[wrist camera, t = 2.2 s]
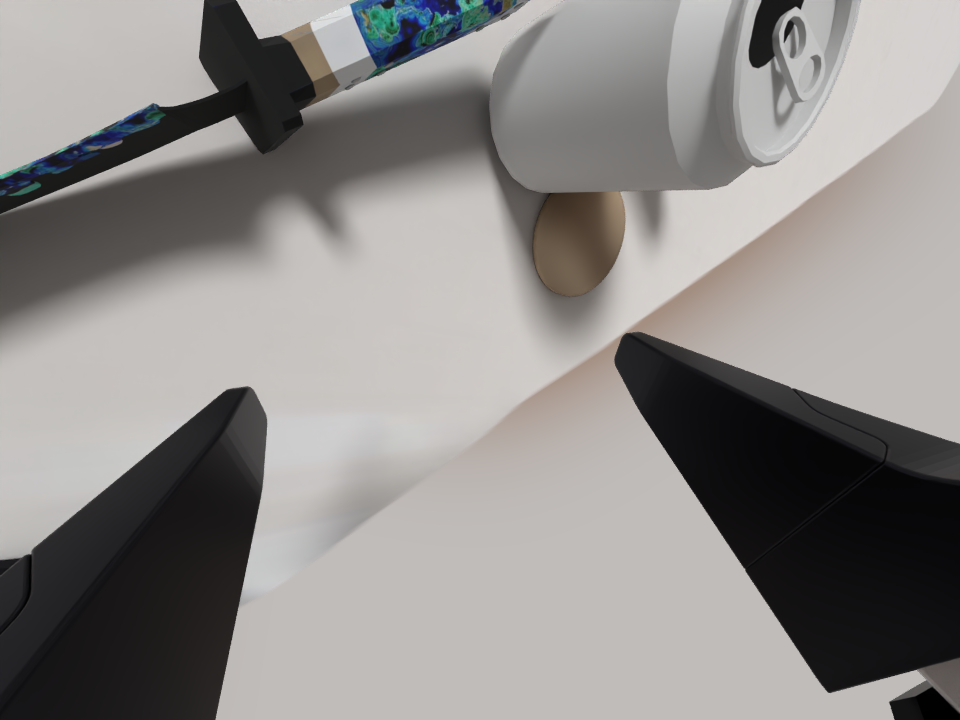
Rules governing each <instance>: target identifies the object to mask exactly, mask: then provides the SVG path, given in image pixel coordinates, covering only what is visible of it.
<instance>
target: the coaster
mask: <svg viewBox="0 0 960 720" xmlns="http://www.w3.org/2000/svg"><path fill="white" fill-rule="evenodd" d="M624 232H625V208H624V203H623V199H622V196H621V194H620V192H619V191H614V192H564V193H551V194H550V195H549V197H548V198H547V200H546V201H545V203H544V205H543V207H542V209H541V211H540V214H539V217H538V219H537V223H536V227H535V232H534V238H533V256H534V262H535V266H536V270H537V272H538V274H539V277H540V278H541V280H542V282H543V283H544V284H545V285H546V286H547V287H548V288H549V289H550V290H552V291H554V292H556V293H558V294H561V295H564V296H579V295H582V294H585V293H587V292H589V291H591V290H592V289H593V288H595V287H596V286H597V285H598V284H600V283H601V281H602V280H603V279H604V278H605V277H606V276H607V274H608V273H609V272H610V270H611V268H612V267H613V265H614V263H615V261H616V259H617V257H618V254H619V252H620V249H621V246H622V242H623V238H624Z"/></svg>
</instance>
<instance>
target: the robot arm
mask: <svg viewBox="0 0 960 720" xmlns="http://www.w3.org/2000/svg"><path fill="white" fill-rule="evenodd" d="M614 360H615V366H616V368H617V370H618V372H619V374H620V375H621V377H622V379H623V381H624V383H625V385H626V387H627V389H628V391H629V392H630V394H631V396H632V398H633V400H634V402H635V404H636V406H637V407H638V409H639V411H640V413H641V414H642V416H643V417H644V419H645V420H646V422H647V423H648V425H649V426H650V428H651V429H652V431H653V432H654V434H655V435H656V437H657V438H658V440H659V441H660V443H661V444H662V446H663V447H664V448H665V450H666V452H667V453H668V455H669V456H670V458H671V459H672V461H673V462H674V464H675V465H676V467H677V468H678V470H679V471H680V473H681V474H682V476H683V477H684V479H685V480H686V482H687V483H688V485H689V486H690V488H691V489H692V491H693V492H694V494H695V495H696V497H697V498H698V500H699V501H700V503H701V504H702V506H703V507H704V509H705V510H706V512H707V513H708V515H709V516H710V518H711V519H712V521H713V522H714V524H715V525H716V527H717V528H718V530H719V532H720V533H721V535H722V536H723V538H724V539H725V541H726V542H727V544H728V545H729V546H730V548H731V550H732V551H733V553H734V554H735V556H736V557H737V559H738V560H739V561H740V563H741V564H742V566H743V567H744V568H745V571H746V573H747V574H748V576H749V577H750V579H751V580H752V582H753V583H754V585H755V586H756V588H757V589H758V591H759V592H760V594H761V595H762V597H763V598H764V600H765V601H766V602H767V604H768V606H769V607H770V609H771V610H772V612H773V613H774V615H775V616H776V618H777V619H778V621H779V622H780V624H781V625H782V627H783V628H784V630H785V631H786V633H787V634H788V636H789V637H790V639H791V640H792V642H793V643H794V645H795V646H796V648H797V649H798V651H799V652H800V654H801V655H802V657H803V658H804V660H805V661H806V663H807V664H808V666H809V667H810V669H811V670H812V672H813V673H814V675H815V676H816V678H817V679H818V681H819V682H820V683H821V685H822V686H823V687H824V688H825V690H826V691H827V692H828V693H832V692H836V691H840V690H843V689H847V688H851V687H854V686H858V685H861V684H866V683H869V682H873V681H876V680H880V679H884V678H888V677H891V676H895V675H899V674H903V673H906V672H910V671H914V670H917V671H918V672H919V673H920V674H921V675H922V676H923V677H924V678H925V679H926V681H924V682H923V683H921V684H919V685H917V686H916V687H914V688H912V689H910V690H909V691H907V692H905V693H904V694H902V695H900V696H899V697H897V698H895V699H893V700H892V701H890V702H889V703H890V706H891V709H892V713H893V716H894V719H895V720H960V444H959V443H955V442H952V441H948V440H945V439H942V438H939V437H936V436H933V435H930V434H927V433H924V432H921V431H918V430H914V429H911V428H908V427H905V426H902V425H899V424H896V423H893V422H890V421H887V420H884V419H881V418H878V417H875V416H872V415H869V414H866V413H863V412H859V411H856V410H854V409H851V408H848V407H845V406H842V405H839V404H836V403H833V402H831V401H828V400H825V399H822V398H819V397H816V396H813V395H810V394H808V393H805V392H803V391H800V390H797V389H791V388H790V387H789V386H786V385H783V384H781V383H778V382H775V381H773V380H770V379H767V378H764V377H762V376H759V375H756V374H754V373H751V372H748V371H745V370H743V369H740V368H737V367H734V366H732V365H729V364H726V363H724V362H721V361H718V360H715V359H713V358H710V357H707V356H704V355H702V354H699V353H696V352H694V351H691V350H688V349H685V348H683V347H680V346H677V345H675V344H672V343H669V342H666V341H663V340H661V339H658V338H655V337H653V336H650V335H647V334H645V333H642V332H632V333H626V334H624V335H623V337H622V338H621V341H620V344H619V347H618V349H617V352H616V355H615V359H614ZM266 435H267V417H266V414H265V411H264V409H263V407H262V405H261V403H260V401H259V399H258V397H257V395H256V393H255V392H254V390H253V389H252V388H251V387H248V386H246V387H239V388H232V389H228V390H226V391H224V392H223V393H222V394H221V395H219V396H218V397H217V398H216V399H214V400H213V401H212V402H211V403H210V404H208V405H207V406H206V407H205V408H204V409H202V410H201V411H200V412H199V413H197V414H196V415H195V416H194V417H193V418H191V419H190V420H189V421H188V422H187V423H185V424H184V425H183V426H182V427H180V428H179V429H178V430H177V431H176V432H174V433H173V434H172V435H171V436H170V437H168V438H167V439H166V440H165V441H163V442H162V443H161V444H160V445H159V446H157V447H156V448H155V449H154V450H153V451H151V452H150V453H149V454H148V455H146V456H145V457H144V458H143V459H142V460H140V461H139V462H138V463H137V464H136V465H134V466H133V467H132V468H131V469H129V470H128V471H127V472H126V473H125V474H123V475H122V476H121V477H120V478H119V479H117V480H116V481H115V482H114V483H112V484H111V485H110V486H109V487H108V488H106V489H105V490H104V491H103V492H102V493H100V494H99V495H98V496H97V497H95V498H94V499H93V500H92V501H91V502H89V503H88V504H87V505H86V506H85V507H83V508H82V509H81V510H80V511H78V512H77V513H76V514H75V515H74V516H72V517H71V518H70V519H69V520H67V521H66V522H65V523H64V524H63V525H61V526H60V527H59V528H58V529H57V530H55V531H54V532H53V533H52V534H50V535H49V536H48V537H47V538H46V539H44V540H43V541H42V542H41V543H40V544H38V545H37V546H36V547H35V548H34V549H33V550H32V552H31V554H28V555H25V556H24V557H22V558H21V559H16V560H6V561H0V720H215V719H216V714H217V709H218V704H219V699H220V694H221V689H222V685H223V680H224V675H225V670H226V665H227V660H228V655H229V650H230V645H231V640H232V635H233V630H234V626H235V621H236V616H237V611H238V607H239V602H240V597H241V592H242V587H243V582H244V577H245V572H246V568H247V563H248V558H249V553H250V548H251V543H252V538H253V534H254V529H255V524H256V519H257V514H258V509H259V504H260V499H261V493H262V487H263V477H264V463H265V449H266Z"/></svg>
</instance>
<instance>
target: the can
mask: <svg viewBox="0 0 960 720" xmlns="http://www.w3.org/2000/svg"><path fill="white" fill-rule="evenodd" d="M860 3H861V0H563V1H562V2H560V3H559V4H557V5H556V6H554V7H553V8H551V9H550V10H548V11H547V12H545V13H544V14H542V15H540V16H539V17H537V18H536V19H534V20H533V21H531V22H530V23H528V24H527V25H525V26H524V27H522V28H521V29H519V30H518V32H517V33H516V34H515V35H514V36H513V38H512V39H511V40H510V41H509V42H508V44H507V45H506V46H505V47H504V49H503V51H502V54H501V56H500V59H499V61H498V64H497V66H496V69H495V71H494V74H493V79H492V87H491V94H490V101H489V109H490V121H491V133H492V136H493V139H494V142H495V145H496V149H497V152H498V155H499V158H500V159H501V161H502V163H503V164H504V166H505V167H506V169H507V170H508V172H509V174H510V175H511V177H512V178H514V179H515V180H516V181H517V182H519V183H520V184H521V185H522V186H524V187H525V188H526V189H530V190H533V191H537V192H540V193H564V192H614V191H665V190H709V189H713V188H718V187H722V186H726V185H728V184H729V183H731V182H732V181H733V180H735V179H736V178H737V177H739V176H740V175H741V174H742V173H744V172H745V171H746V170H748V169H749V168H750V167H751V166H752V165H753V166H755V167H763V166H768V165H773V164H776V163H777V162H779V161H780V160H781V159H782V158H784V157H785V156H786V155H788V154H789V153H790V152H791V151H793V150H794V149H795V148H796V147H797V146H798V144H799V143H800V142H801V140H802V139H803V138H804V137H805V135H806V134H807V133H808V132H809V130H810V129H811V128H812V126H813V125H814V123H815V121H816V119H817V118H818V116H819V114H820V112H821V111H822V109H823V107H824V105H825V104H826V102H827V100H828V98H829V96H830V94H831V91H832V89H833V87H834V84H835V82H836V80H837V77H838V75H839V73H840V70H841V68H842V66H843V63H844V60H845V57H846V54H847V51H848V48H849V44H850V41H851V38H852V35H853V32H854V29H855V25H856V22H857V17H858V12H859V8H860Z"/></svg>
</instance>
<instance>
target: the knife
mask: <svg viewBox="0 0 960 720" xmlns="http://www.w3.org/2000/svg"><path fill="white" fill-rule="evenodd" d="M528 1H530V0H359V1H357V2H354V3H352V4H350V5H347V6H345V7H343V8H341V9H338V10H336V11H334V12H332V13H330V14H327V15H325V16H323V17H321V18H318V19H316V20H314V21H312V22H309V23H307V24H305V25H302V26H300V27H298V28H296V29H293V30H291V31H289V32H287V33H284V34H282V35H279V36H274V37H269V38H264V39H258V38H257V36H256V34H255V32H254V31H253V29H252V27H251V25H250V24H249V22H248V20H247V18H246V17H245V15H244V13H243V11H242V9H241V8H240V6H239V4H238V2H237V1H236V0H204V9H203V19H202V30H201V41H200V52H199V59H200V61H201V63H202V65H203V67H204V69H205V71H206V72H207V74H208V75H209V77H210V78H211V80H212V81H213V83H214V84H215V86H216V87H217V89H218V90H219V92H218V93H215V94H213V95H210V96H208V97H205V98H203V99H200V100H196V101H193V102H190V103H186V104H182V105H178V106H174V107H159V106H158V105H157V104H154V103H153V104H151V105H149V106H147V107H145V108H143V109H141V110H139V111H137V112H135V113H133V114H132V115H130V116H128V117H126V118H124V119H122V120H120V121H118V122H116V123H114V124H112V125H110V126H108V127H106V128H104V129H102V130H100V131H98V132H96V133H94V134H92V135H90V136H88V137H86V138H84V139H82V140H80V141H78V142H76V143H74V144H71V145H69V146H67V147H65V148H63V149H61V150H59V151H57V152H54V153H52V154H50V155H48V156H46V157H44V158H41V159H39V160H36V161H34V162H32V163H29V164H27V165H24V166H22V167H20V168H17V169H15V170H12V171H10V172H7V173H5V174H3V175H0V214H1V213H4V212H6V211H8V210H11V209H13V208H16V207H18V206H21V205H23V204H26V203H28V202H31V201H33V200H35V199H38V198H40V197H43V196H45V195H48V194H50V193H53V192H55V191H57V190H60V189H62V188H65V187H67V186H70V185H72V184H75V183H77V182H80V181H82V180H84V179H87V178H89V177H92V176H94V175H96V174H99V173H101V172H104V171H106V170H109V169H111V168H113V167H116V166H118V165H121V164H123V163H125V162H128V161H130V160H133V159H135V158H137V157H140V156H142V155H144V154H146V153H149V152H151V151H153V150H155V149H157V148H160V147H162V146H164V145H166V144H169V143H171V142H173V141H175V140H177V139H180V138H182V137H184V136H186V135H189V134H191V133H193V132H195V131H197V130H200V129H203V128H205V127H208V126H211V125H213V124H215V123H218V122H220V121H223V120H225V119H227V118H230V117H232V116H234V115H235V116H236V117H237V119H238V120H239V122H240V123H241V125H242V126H243V128H244V129H245V131H246V132H247V134H248V135H249V137H250V138H251V140H252V141H253V143H254V144H255V146H256V147H257V149H258V150H259V151H260V152H261V153H262V154H264V153H267V152H269V151H272V150H274V149H276V148H277V147H278V146H279V145H281V144H282V143H283V142H284V141H285V140H286V139H288V138H289V137H290V136H291V135H292V134H293V133H295V132H296V131H297V130H298V129H299V128H300V127H301V126H303V125H304V124H303V120H302V116H301V113H300V112H299V110H302V109H304V108H306V107H308V106H310V105H312V104H315V103H317V102H319V101H321V100H324V99H326V98H328V97H330V96H332V95H335V94H337V93H339V92H341V91H344V90H349V89H351V88H352V87H354V86H355V85H357V84H359V83H361V82H364V81H366V80H368V79H370V78H372V77H375V76H380V75H382V74H384V73H385V72H386V71H388V70H390V69H392V68H395V67H397V66H399V65H401V64H404V63H406V62H408V61H410V60H412V59H415V58H417V57H419V56H421V55H424V54H426V53H428V52H430V51H432V50H435V49H437V48H439V47H441V46H444V45H446V44H448V43H450V42H452V41H455V40H457V39H459V38H461V37H464V36H466V35H468V34H470V33H472V32H475V31H476V32H478V31H480V30H482V29H483V28H484V27H486V26H488V25H490V24H492V23H495V22H497V21H499V20H504V19H506V18H507V17H509V16H510V14H512V13H514V12H516V11H517V10H518V9H520V8H521V7H522V6H523V5H525V4H526V3H527V2H528Z"/></svg>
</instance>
